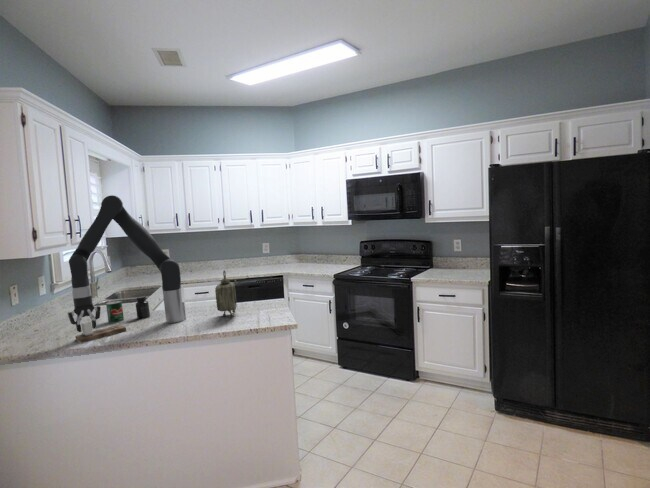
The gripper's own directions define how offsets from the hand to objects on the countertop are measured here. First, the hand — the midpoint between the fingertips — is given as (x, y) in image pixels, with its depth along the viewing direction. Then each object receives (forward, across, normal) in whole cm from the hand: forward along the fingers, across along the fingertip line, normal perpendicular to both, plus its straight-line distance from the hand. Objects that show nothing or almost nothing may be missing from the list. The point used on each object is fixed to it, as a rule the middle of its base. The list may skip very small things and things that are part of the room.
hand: (86, 329), depth 186 cm
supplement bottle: (+5, -33, -15) cm, 37 cm away
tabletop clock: (+5, -59, +31) cm, 67 cm away
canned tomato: (+5, -21, -23) cm, 31 cm away
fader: (+2, 0, 0) cm, 2 cm away
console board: (+4, -6, 0) cm, 7 cm away
